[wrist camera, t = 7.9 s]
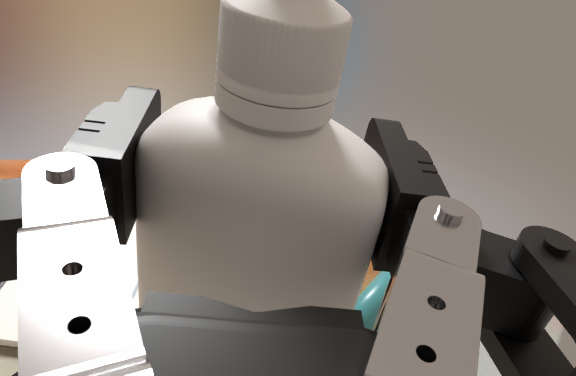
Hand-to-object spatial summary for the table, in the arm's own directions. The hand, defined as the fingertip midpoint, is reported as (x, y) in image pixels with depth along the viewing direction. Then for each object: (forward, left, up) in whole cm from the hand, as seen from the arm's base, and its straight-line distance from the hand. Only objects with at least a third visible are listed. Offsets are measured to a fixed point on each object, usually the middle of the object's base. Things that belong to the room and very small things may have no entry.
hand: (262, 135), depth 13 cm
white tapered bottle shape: (-2, 0, -7) cm, 7 cm away
